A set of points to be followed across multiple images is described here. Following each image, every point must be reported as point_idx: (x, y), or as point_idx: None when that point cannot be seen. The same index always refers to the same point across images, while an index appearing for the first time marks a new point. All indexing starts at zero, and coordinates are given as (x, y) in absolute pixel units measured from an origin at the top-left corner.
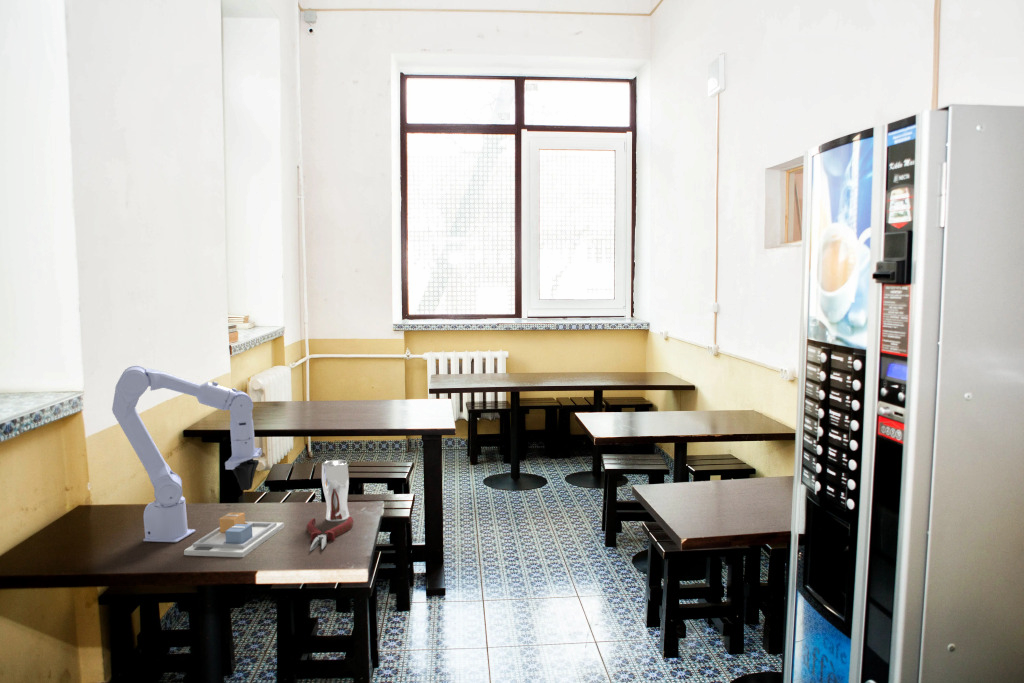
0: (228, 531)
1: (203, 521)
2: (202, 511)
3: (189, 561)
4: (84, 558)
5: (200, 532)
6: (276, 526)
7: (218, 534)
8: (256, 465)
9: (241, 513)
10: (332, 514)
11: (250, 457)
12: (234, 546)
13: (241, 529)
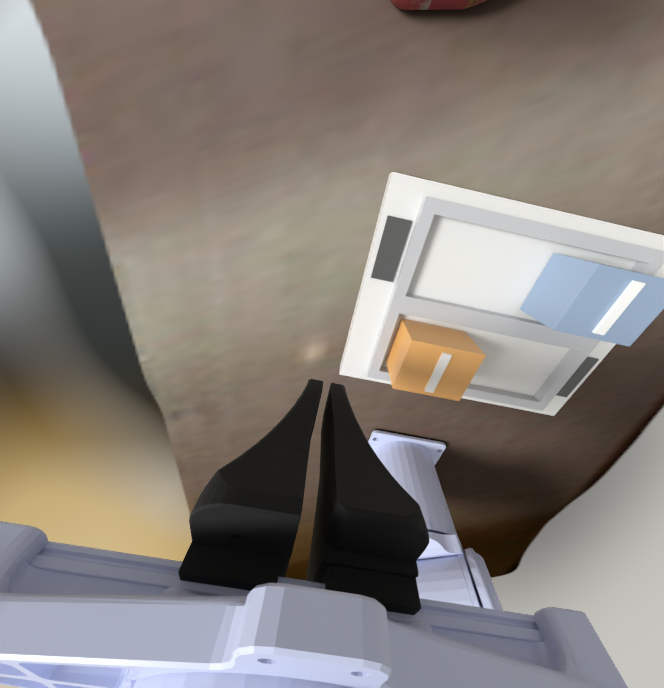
0: (640, 333)
1: None
2: (228, 451)
3: (603, 384)
4: (471, 533)
5: (380, 418)
6: (436, 192)
7: None
8: (259, 469)
9: (417, 348)
10: None
11: (401, 665)
12: None
13: (654, 288)
